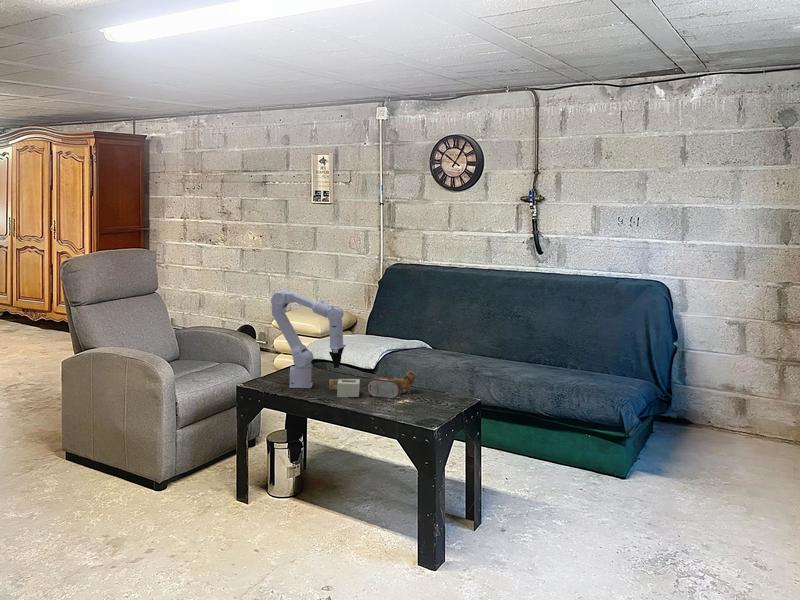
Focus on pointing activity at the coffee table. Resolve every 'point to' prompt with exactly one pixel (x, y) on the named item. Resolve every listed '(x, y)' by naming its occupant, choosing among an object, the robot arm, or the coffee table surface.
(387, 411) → the coffee table surface
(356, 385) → the box
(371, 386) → the tin
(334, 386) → the block
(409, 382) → the lion figurine
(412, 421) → the coffee table surface
